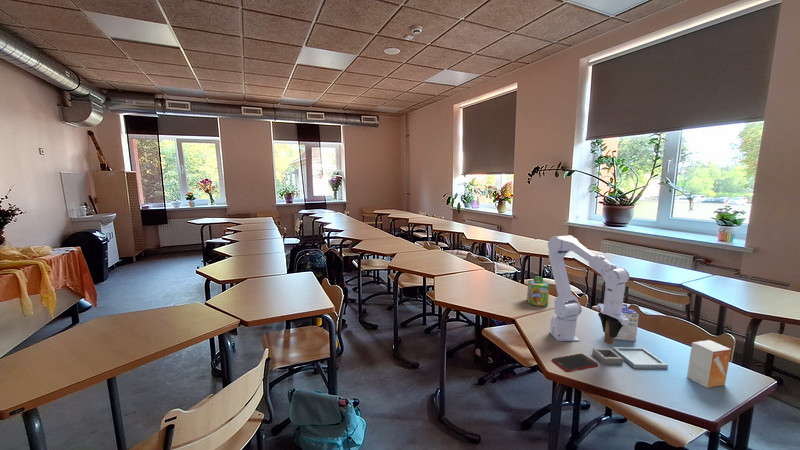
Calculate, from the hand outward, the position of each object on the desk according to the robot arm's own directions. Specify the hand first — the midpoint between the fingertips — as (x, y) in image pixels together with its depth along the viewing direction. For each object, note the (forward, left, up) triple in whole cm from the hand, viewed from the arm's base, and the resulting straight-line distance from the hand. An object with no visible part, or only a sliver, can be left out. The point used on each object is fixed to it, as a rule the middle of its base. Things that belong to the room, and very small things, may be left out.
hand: (609, 334), depth 118 cm
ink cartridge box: (+17, +17, -10) cm, 26 cm away
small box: (+25, -13, -10) cm, 30 cm away
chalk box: (-3, +55, -10) cm, 56 cm away
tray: (+12, 0, -10) cm, 15 cm away
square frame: (0, 0, -10) cm, 10 cm away
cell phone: (-14, -3, -10) cm, 18 cm away
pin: (0, 0, -3) cm, 3 cm away
